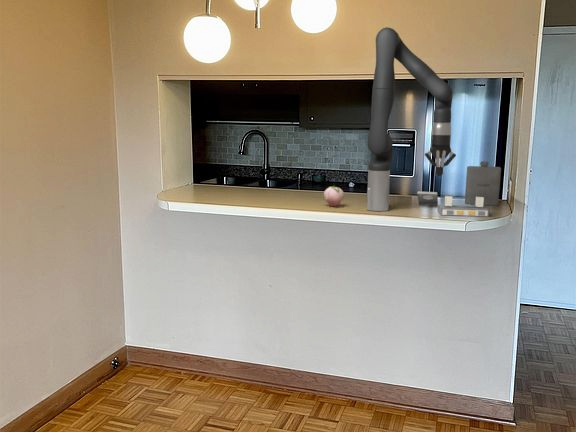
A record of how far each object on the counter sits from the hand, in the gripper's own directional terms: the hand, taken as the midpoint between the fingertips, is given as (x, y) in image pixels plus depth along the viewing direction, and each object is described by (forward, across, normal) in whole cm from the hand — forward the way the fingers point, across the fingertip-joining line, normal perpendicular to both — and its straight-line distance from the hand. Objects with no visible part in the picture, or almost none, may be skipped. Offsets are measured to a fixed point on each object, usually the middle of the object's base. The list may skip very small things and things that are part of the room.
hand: (439, 175), depth 236 cm
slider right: (+12, +17, 0) cm, 21 cm away
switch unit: (+16, +10, 0) cm, 19 cm away
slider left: (+12, +4, 0) cm, 13 cm away
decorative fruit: (+16, -44, +10) cm, 47 cm away
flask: (+16, +24, +29) cm, 41 cm away
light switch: (+16, -2, +16) cm, 23 cm away
